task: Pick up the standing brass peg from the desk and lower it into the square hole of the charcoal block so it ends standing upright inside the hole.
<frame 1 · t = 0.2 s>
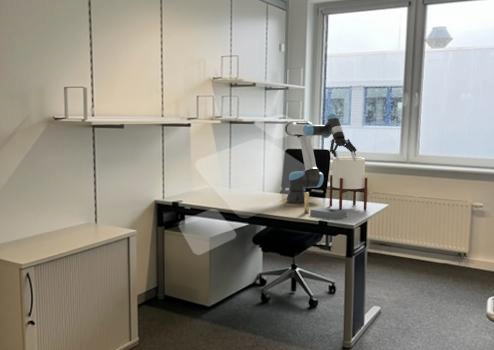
hand: (346, 160, 325), 35 cm above the table, tool tilted 35°, fingers open, 13 cm apart
plant pot with stand: (347, 207, 348), on the table
brass peg: (306, 212, 329), on the table
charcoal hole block: (328, 216, 318), on the table
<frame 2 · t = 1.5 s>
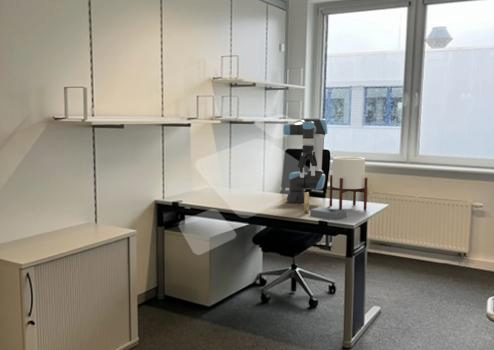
hand: (307, 176, 326), 25 cm above the table, tool pointing down, fingers open, 13 cm apart
nothing on the table moved.
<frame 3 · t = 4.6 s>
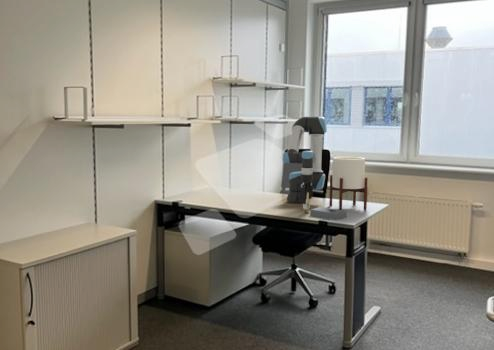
hand: (306, 208, 329), 3 cm above the table, tool pointing down, fingers closed on brass peg, 3 cm apart
brass peg: (306, 212, 329), on the table, touching gripper
everything else where it was.
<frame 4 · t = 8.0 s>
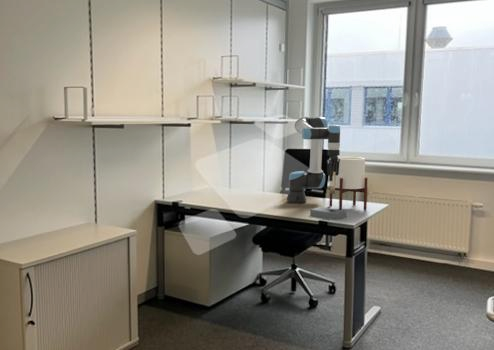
hand: (332, 185, 314), 21 cm above the table, tool pointing down, fingers closed on brass peg, 3 cm apart
brass peg: (332, 193, 315), point 16 cm above the table, touching gripper
everything else where it was.
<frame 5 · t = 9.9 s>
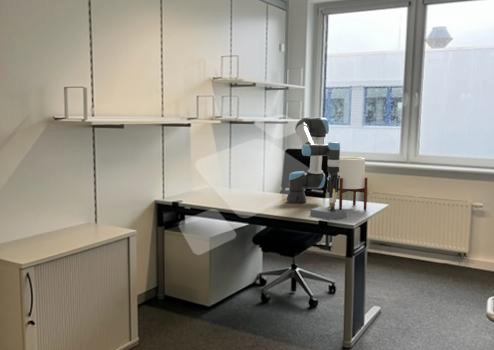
hand: (332, 202, 315), 10 cm above the table, tool pointing down, fingers closed on brass peg, 3 cm apart
brass peg: (332, 209, 316), point 5 cm above the table, touching gripper
everything else where it was.
when the fingers open (6 cm above the table, at t = 11.7 s): brass peg stays where it is, resting in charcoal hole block.
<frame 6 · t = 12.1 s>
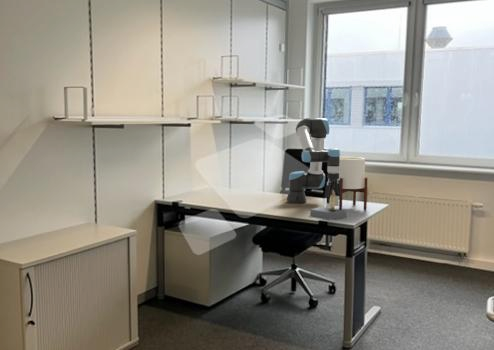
hand: (332, 206, 316), 7 cm above the table, tool pointing down, fingers open, 9 cm apart
brass peg: (332, 216, 317), resting in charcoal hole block
everything else where it was.
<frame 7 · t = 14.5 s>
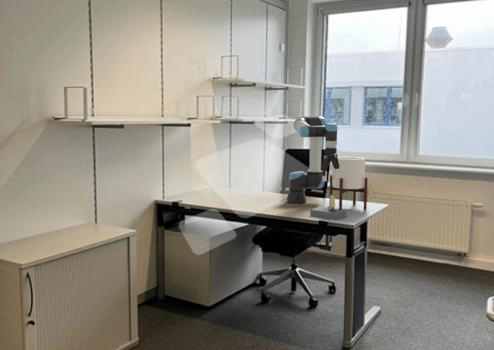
hand: (329, 179, 318), 24 cm above the table, tool pointing down, fingers open, 13 cm apart
nothing on the table moved.
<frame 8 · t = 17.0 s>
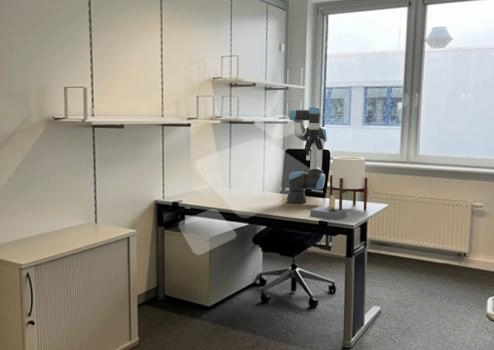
hand: (313, 159, 342), 35 cm above the table, tool pointing down, fingers open, 13 cm apart
nothing on the table moved.
at the end: brass peg 0.1 cm from the target spot on the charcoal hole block, point 0.0 cm above the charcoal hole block's base; brass peg tilted 1°; the gripper is holding nothing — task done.
